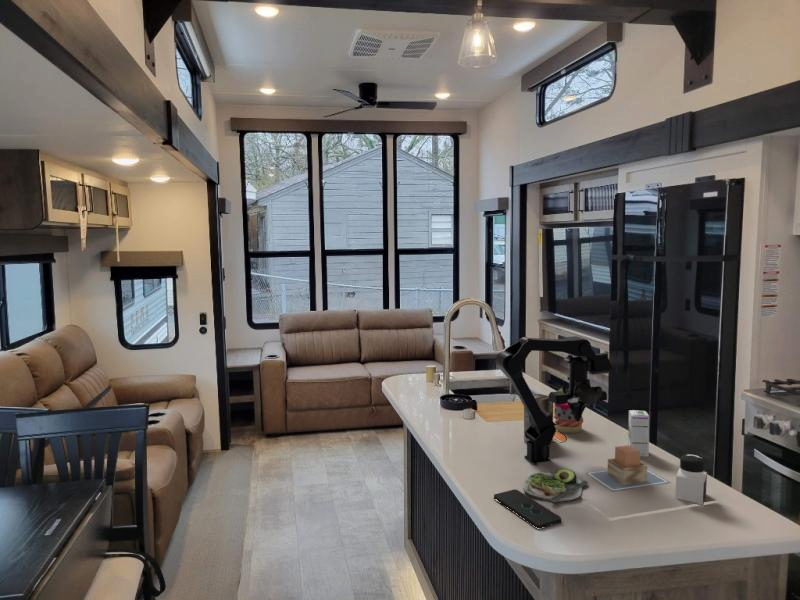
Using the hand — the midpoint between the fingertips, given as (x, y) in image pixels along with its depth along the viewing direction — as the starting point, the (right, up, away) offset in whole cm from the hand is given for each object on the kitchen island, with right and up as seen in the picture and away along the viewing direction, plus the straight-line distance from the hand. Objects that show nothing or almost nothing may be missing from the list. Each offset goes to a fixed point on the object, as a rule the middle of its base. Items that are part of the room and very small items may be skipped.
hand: (577, 421), depth 199 cm
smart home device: (-25, -17, -36) cm, 47 cm away
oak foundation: (+10, -13, -18) cm, 24 cm away
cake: (+5, -9, +28) cm, 30 cm away
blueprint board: (+10, -14, -18) cm, 25 cm away
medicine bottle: (+23, -16, -31) cm, 41 cm away
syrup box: (+21, -12, +2) cm, 24 cm away
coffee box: (-9, -11, +16) cm, 21 cm away
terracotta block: (+10, -9, -18) cm, 23 cm away
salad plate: (-14, -16, -23) cm, 31 cm away
